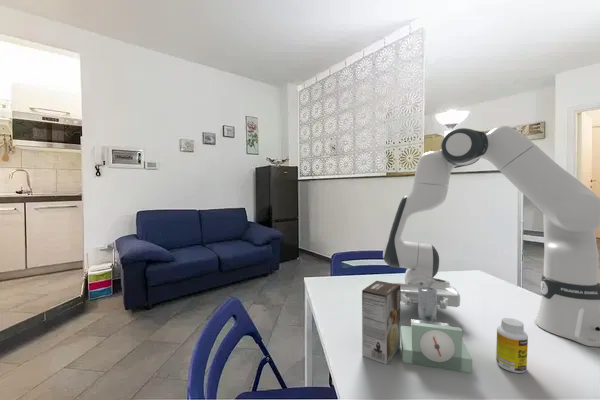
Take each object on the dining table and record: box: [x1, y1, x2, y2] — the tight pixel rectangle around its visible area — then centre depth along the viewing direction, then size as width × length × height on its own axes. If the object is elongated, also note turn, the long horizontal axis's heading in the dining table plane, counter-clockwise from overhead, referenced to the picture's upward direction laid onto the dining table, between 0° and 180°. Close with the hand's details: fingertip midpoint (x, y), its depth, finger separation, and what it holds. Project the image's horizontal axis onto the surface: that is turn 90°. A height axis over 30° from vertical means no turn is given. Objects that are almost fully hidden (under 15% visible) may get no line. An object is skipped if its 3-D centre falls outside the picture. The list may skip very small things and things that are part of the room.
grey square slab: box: [410, 318, 450, 327], centre depth 72 cm, size 9×9×2 cm
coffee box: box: [361, 280, 401, 365], centre depth 71 cm, size 9×6×16 cm
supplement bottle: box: [495, 317, 529, 374], centre depth 65 cm, size 6×6×10 cm
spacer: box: [417, 287, 438, 322], centre depth 80 cm, size 5×5×12 cm
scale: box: [400, 322, 473, 374], centre depth 70 cm, size 14×13×9 cm
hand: (425, 304), depth 83 cm, fingers open, 8 cm apart
